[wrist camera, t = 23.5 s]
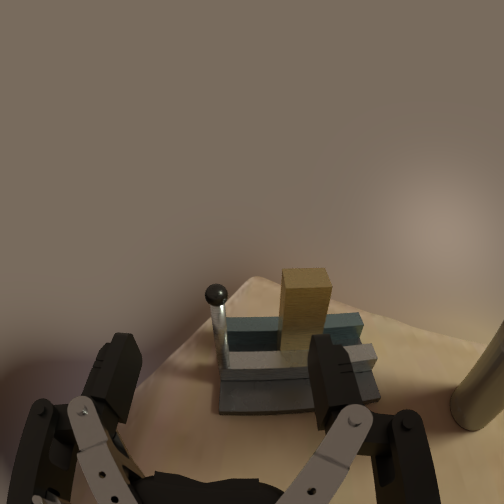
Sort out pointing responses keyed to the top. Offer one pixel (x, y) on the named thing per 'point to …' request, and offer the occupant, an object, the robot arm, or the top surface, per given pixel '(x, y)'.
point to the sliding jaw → (268, 362)
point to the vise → (284, 390)
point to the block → (302, 307)
